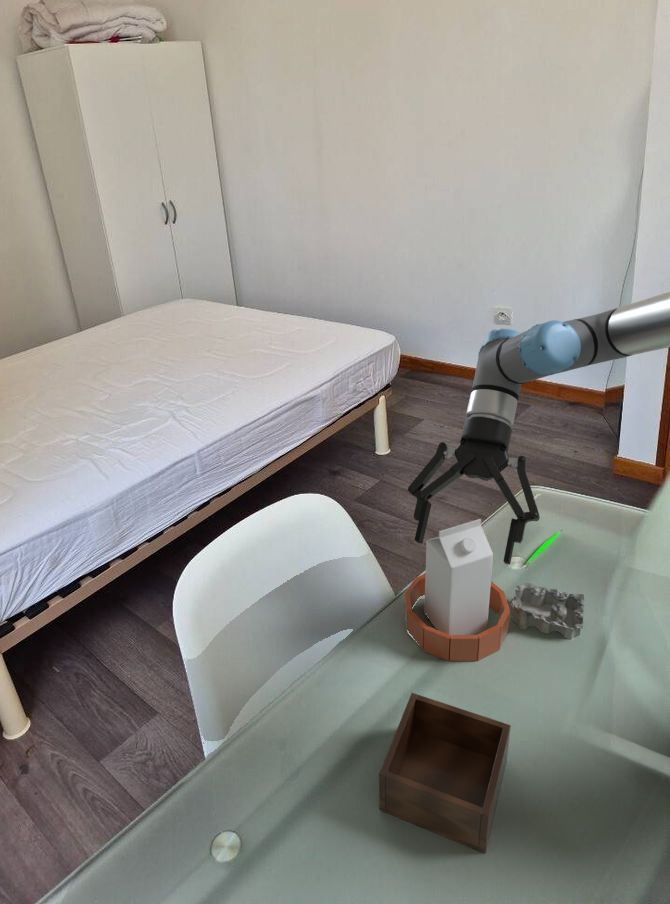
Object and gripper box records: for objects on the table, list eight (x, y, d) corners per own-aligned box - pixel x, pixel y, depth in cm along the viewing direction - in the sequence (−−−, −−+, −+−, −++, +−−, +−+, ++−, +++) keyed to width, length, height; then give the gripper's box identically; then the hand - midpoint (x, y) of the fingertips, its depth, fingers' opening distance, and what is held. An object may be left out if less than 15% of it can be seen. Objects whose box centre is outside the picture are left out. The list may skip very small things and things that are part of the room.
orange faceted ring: (519, 609, 111) (521, 588, 109) (486, 676, 99) (488, 653, 97) (428, 578, 119) (429, 557, 117) (388, 637, 107) (388, 615, 105)
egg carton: (507, 626, 108) (509, 606, 106) (515, 595, 114) (517, 575, 112) (580, 644, 104) (583, 624, 102) (584, 611, 110) (587, 591, 108)
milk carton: (423, 615, 111) (426, 518, 103) (461, 602, 113) (467, 506, 105) (447, 645, 105) (452, 545, 97) (487, 631, 107) (495, 532, 99)
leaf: (564, 532, 128) (565, 528, 127) (525, 568, 119) (526, 564, 119) (560, 530, 128) (560, 526, 128) (521, 566, 120) (521, 562, 120)
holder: (506, 760, 87) (510, 724, 84) (485, 853, 77) (488, 816, 74) (411, 727, 93) (411, 692, 90) (379, 810, 83) (378, 773, 80)
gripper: (571, 442, 109) (547, 575, 103) (418, 418, 119) (389, 537, 114) (570, 427, 102) (545, 569, 97) (409, 403, 113) (378, 529, 107)
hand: (461, 552), depth 105 cm, fingers open, 13 cm apart
